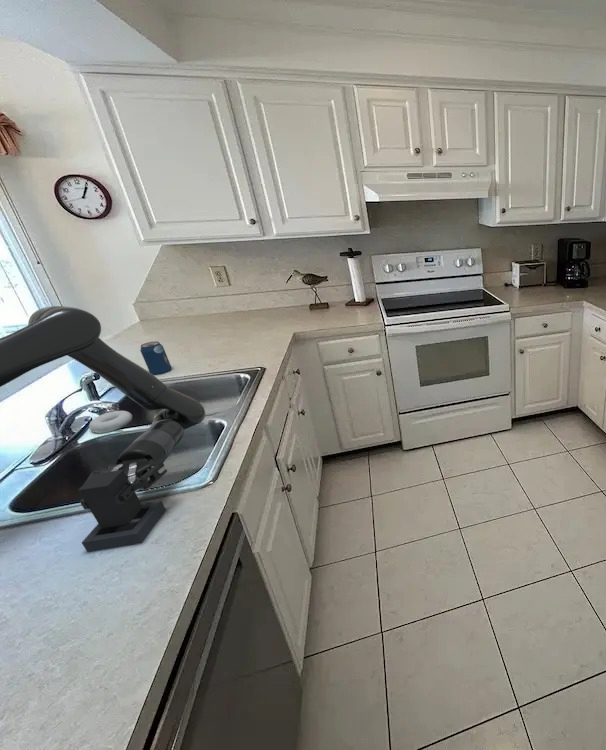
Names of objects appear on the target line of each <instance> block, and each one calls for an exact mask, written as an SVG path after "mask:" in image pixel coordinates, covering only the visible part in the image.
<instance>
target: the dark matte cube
mask: <svg viewBox="0 0 606 750" xmlns="http://www.w3.org/2000/svg"><path fill="white" fill-rule="evenodd" d="M127 481H128V478H127V476H126V474H125V473H124V471H123V470H118V471H111V472H108V471H104V472H99V473H96V474H94V475H93V476H92V477H91V478H90V479H89V480H88V481H87V482H86V481H85V482H86V483H85V482H84V483H85V484H84V483H83V484H82V485H81V486H80V488H78V490H77V491H78V493H79V494H80V496H81V497H82V498H81V499H84V501H85V502H86V504H87V506H88V507H89V509H88V510H90V513H91V514H92V516H93V517H94V519H95V520H96V522H97V525H98V524H99V525H100V527H101V528H107V527H113V526H116V527H119V526H125V525H126V526H127V525H130V524H131V523H132V521H133V520H135V519H134V518H135V516H136V515H137V514H138V512H139V511H140V510H141V509H142V507H143V506H142V504H143V503H142V502H141V500H140V498H139V497H138V495H137V492H134V493H133V494H132V495H131V497H130V498H129V499H128V500H127V501H125V502H124V503H123V504H119V505H118V504H117V503H116V501H115V500H114V496H115V495H116V494H117V493H118V491H119V490H120V489H121V488H122V487H123V486H124V485H126V484H127Z"/></svg>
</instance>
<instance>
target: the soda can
mask: <svg viewBox="0 0 606 750" xmlns="http://www.w3.org/2000/svg"><path fill="white" fill-rule="evenodd" d="M140 353H141V355H142V358H143V360H144V363H145V365H146V367H147V371H148V372H150V373H151V374H152V375H154V376H160V375H165V374H167V373H169V372H170V371H171V370H172V365H171V363H170V360H169V358H168V355H167V352H166V350H165V347H164V345H163V344H161V342H160V341H158V340H157V341H156V340H155V341H149V342H145V343H142V344H141V345H140Z"/></svg>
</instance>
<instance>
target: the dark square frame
mask: <svg viewBox="0 0 606 750" xmlns="http://www.w3.org/2000/svg"><path fill="white" fill-rule="evenodd" d="M141 504H142V506H143V507H142V509H141V510H140V511H139V512H138V514H137V515H136V516H135V518H134V519H133V520H139V521H137V523H136V524H135V526H134V527H133V529H127V530H122V531H116V532H113V531H114V530H115V529H116V528H117V526H113V527H107V528H101V527H100V525H99V524H98V523H97V524H96V526H94V528H93V529H92V530H91V531H90V533H88V535H87V536H86V537H85V538H83V540H82V541H81V544H82V546H83V548H84V550H85V551H86V552H87V553H92V552H98V551H104V550H111V549H116V548H121V547H128V546H133V545H139V544H143V543H144V542H145V540H146V538H147V537H148V536H149V534H150V533H151V532H152V530H153V529H154V527H155V526H156V525H157V523H158V522H159V520H160V519H161V518H162V517H163V515H164V513H165V512H166V511H167V509H166V507H165V505H164V503H163V501H162V500H158V501H152V502H147V503H141Z"/></svg>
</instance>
